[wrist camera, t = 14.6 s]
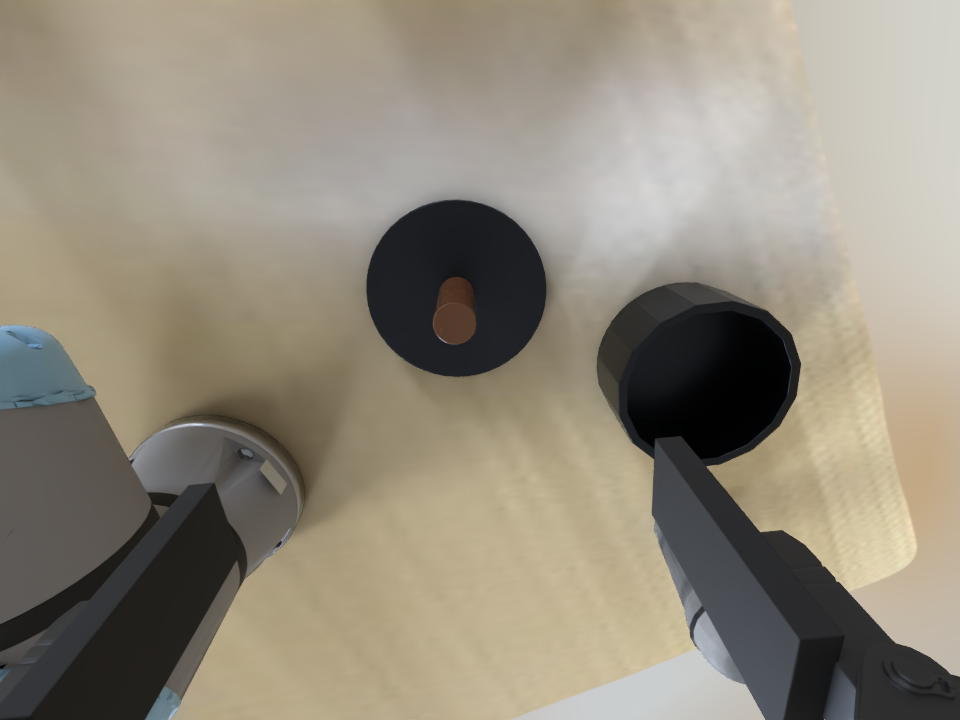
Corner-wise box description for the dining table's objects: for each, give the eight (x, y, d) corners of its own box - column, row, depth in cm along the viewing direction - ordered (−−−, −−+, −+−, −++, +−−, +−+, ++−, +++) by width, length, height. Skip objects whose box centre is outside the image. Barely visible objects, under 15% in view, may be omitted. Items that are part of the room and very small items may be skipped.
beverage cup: (725, 503, 48) (890, 714, 29) (694, 559, 50) (828, 787, 32) (657, 487, 47) (783, 695, 28) (629, 545, 50) (728, 771, 31)
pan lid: (385, 380, 42) (365, 432, 34) (352, 210, 37) (319, 222, 29) (548, 362, 42) (570, 410, 34) (538, 189, 37) (560, 194, 28)
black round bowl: (597, 434, 45) (618, 475, 39) (595, 291, 40) (618, 313, 34) (744, 418, 45) (787, 457, 39) (759, 273, 40) (811, 292, 34)
